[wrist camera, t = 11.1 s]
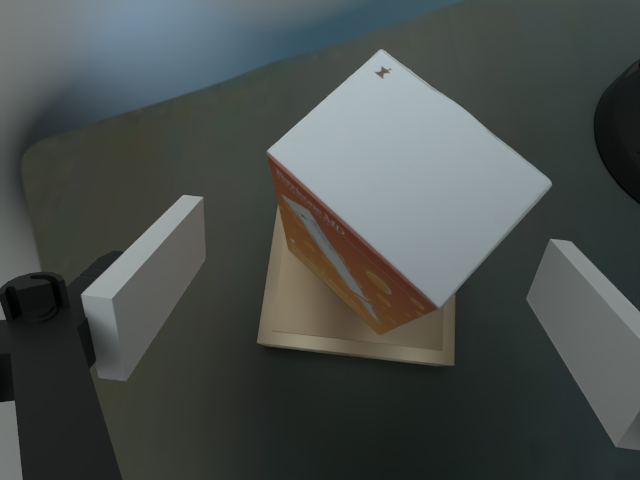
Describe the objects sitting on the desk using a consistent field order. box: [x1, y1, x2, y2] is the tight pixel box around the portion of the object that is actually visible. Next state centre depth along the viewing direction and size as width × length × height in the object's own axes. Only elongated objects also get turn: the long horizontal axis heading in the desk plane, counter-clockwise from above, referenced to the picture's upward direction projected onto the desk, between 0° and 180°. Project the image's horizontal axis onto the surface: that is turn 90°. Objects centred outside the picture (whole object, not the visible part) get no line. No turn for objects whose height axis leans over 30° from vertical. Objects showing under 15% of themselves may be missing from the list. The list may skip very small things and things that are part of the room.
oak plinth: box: [257, 206, 455, 366], centre depth 29 cm, size 12×12×4 cm
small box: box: [267, 50, 552, 335], centre depth 20 cm, size 8×6×13 cm
